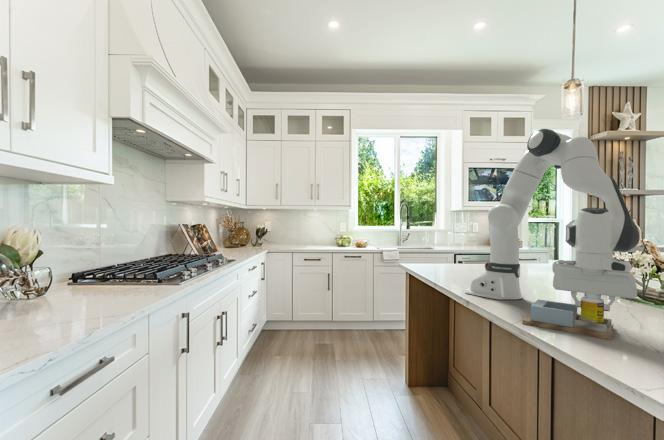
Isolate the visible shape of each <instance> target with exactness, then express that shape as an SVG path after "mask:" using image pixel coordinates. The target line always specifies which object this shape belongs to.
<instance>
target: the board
mask: <svg viewBox="0 0 664 440" xmlns="http://www.w3.org/2000/svg"><path fill="white" fill-rule="evenodd" d="M530 317H531V312H530V313H528V314H527V315H526V316H525V317H524V318H522V325H527V326H532V327H533V326H534V327H538V328H539V327H540V328H544V329H550V330H554V329H555V331H560V330H561V332H565V331H567V333H571V334H577V335H583V336H587V337H588V336H589V337H593V338H594V337H595V338H599V339H605V340H610V341H612V339H613V333H614V324H613V323H612V321H613V320H612V318H605V317H604V324H599V323H593V322H586V321H581V313H579V314H578V313H577V314H574V315H573V327H567V326H561V325H555V324H550V323H544V322H538V321H532V320H530Z"/></svg>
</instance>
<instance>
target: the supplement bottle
mask: <svg viewBox="0 0 664 440" xmlns="http://www.w3.org/2000/svg"><path fill="white" fill-rule="evenodd" d="M583 295H584V296H582V297H581V298H580V301H581V307H580V315H581V321H586V322H593V323H599V324H604V318H605V311H604V304H605V301H604V299H603V298H602V295H597V294H592V293H583Z"/></svg>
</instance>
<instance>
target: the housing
mask: <svg viewBox="0 0 664 440" xmlns="http://www.w3.org/2000/svg"><path fill="white" fill-rule="evenodd" d="M578 308H579V307H575V303H574V304H573V303H567V302H560V301H552V300H545V299H537V300H535V302H533V303H532V304H531V305H530V313H531V317H530V320H532V321H538V322H544V323H550V324H555V325H561V326H567V327H573V315H574V314H578Z"/></svg>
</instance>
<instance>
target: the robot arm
mask: <svg viewBox="0 0 664 440" xmlns="http://www.w3.org/2000/svg"><path fill="white" fill-rule="evenodd" d="M526 144H527V146H526V148H527V150H525V152H524V153H523V154H522V155H521V157H520V158H519V160H518V162H517V163H516V165H515V166H514V169H513V171H512V173H511V174H510V177H509V178H508V181H507V182H506V184H505V186H504V190H503V192H502V196H501V198H500V201H499V203H498V204H497V205H494V206H493V207H491V209H490V210H489V212H488V214H487V220H488V232H489V240H490V241H489V244H490V246H489V247H490V251H489V252H490V253H489V255H490V256H489V261H488V262H486V263H485V264H484V269H485V270H483V271H481V272H480V273H479V274H477V275H476V276H474V277H473V278H472V280H471V283H470V287H468V288H465V290H464V293H465V295H466V294H468V295H473V296H478V297H484V298H488V299H494V300H520V299H523V294H522V291H521V286H520V285H521V283H520V277H521V264H520V241H519V230H518V229H519V228H518V227H519V226H520V224H521V222H522V221H523V218H524V216H525V214H526V213H527V209H528V207H529V205H530V203H531V200H532V199H533V197H534V194H535V193H536V191H537V188H538V187H539V185H540V183H541V181H542V179H543V177H544V175H545V173H546V171H547V170H548V168H550V167H552V166H553V167H554V168H555V169H556V170H559V169H560V174H561V179H562V181H563V184H564V185H566V186H567V187H568V188H569V189H571V190H574V191H576V192H579V193H584V194H587V195H588V194H589V195H591V196H594V197H597V198H599V199H601V201H603V202H604V203H605V206H606V208H603V207H602V208H601V207H586V208H585V207H584V208H581V209H579V210H578V213H577V219H572V221H570V222H569V223H568V224H567V225H565V242H566V243H567V244H568V245H569V246H570V247H572V248H573V249H574V248H575V260H564V259H558V260H557V261H554V262H553V263H552V267H551V268H552V272H553V280H552V287H553V289H555V290H557V291H565V292H570V295H571V298H572V299H573V301H574V305H575V307H578V308H581V300H579V299H578V297H577V295H578V293H583V294H585V293H592V294H597V295H601V296H605V297H606V296H607V297H608V300H609V301H608V303H607V304H606V303H604V312H610V311H611V306H612V305H613V303H614V302H615V301H616V298H623V299H632V300H633V299H635V298H637V296H638V288H637V281H636V278H635V275H634V274H633V272H631V271H632V267H633V266H632V264H631V263H630V262H628V261H624V260H621V259H619V258H614V257H613V252H618V253H619V252H620V253H627V252H629V251H631V250H632V249H634V248H635V247H637V246H638V244H639V241H640V232H639V229H638V227H637V225H636V223H635V221H634V220H633V218H632V216H631V214H630V212H629V209H628V207H627V204H626V202H625V199H624V197H623V195H622V192H621V190H620V187H619V185H618V184H617V182H616V180H615V179H614V177H612V176H610V175H608V174H606V172H604V170H603V169H602V168H601V166H600V162H599V156H598V152H597V149H596V146H595V144H594V143H593V141H592V140H591V139H590V138H588V137H585V136H575V137H570V136H569V135H566V134H563V133H560V132H556V131H554V130H553V129H549V128H540V129H538V130H536V131H534V132H533V133H531V135H530V137H529V138H528V141H527V143H526Z"/></svg>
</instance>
